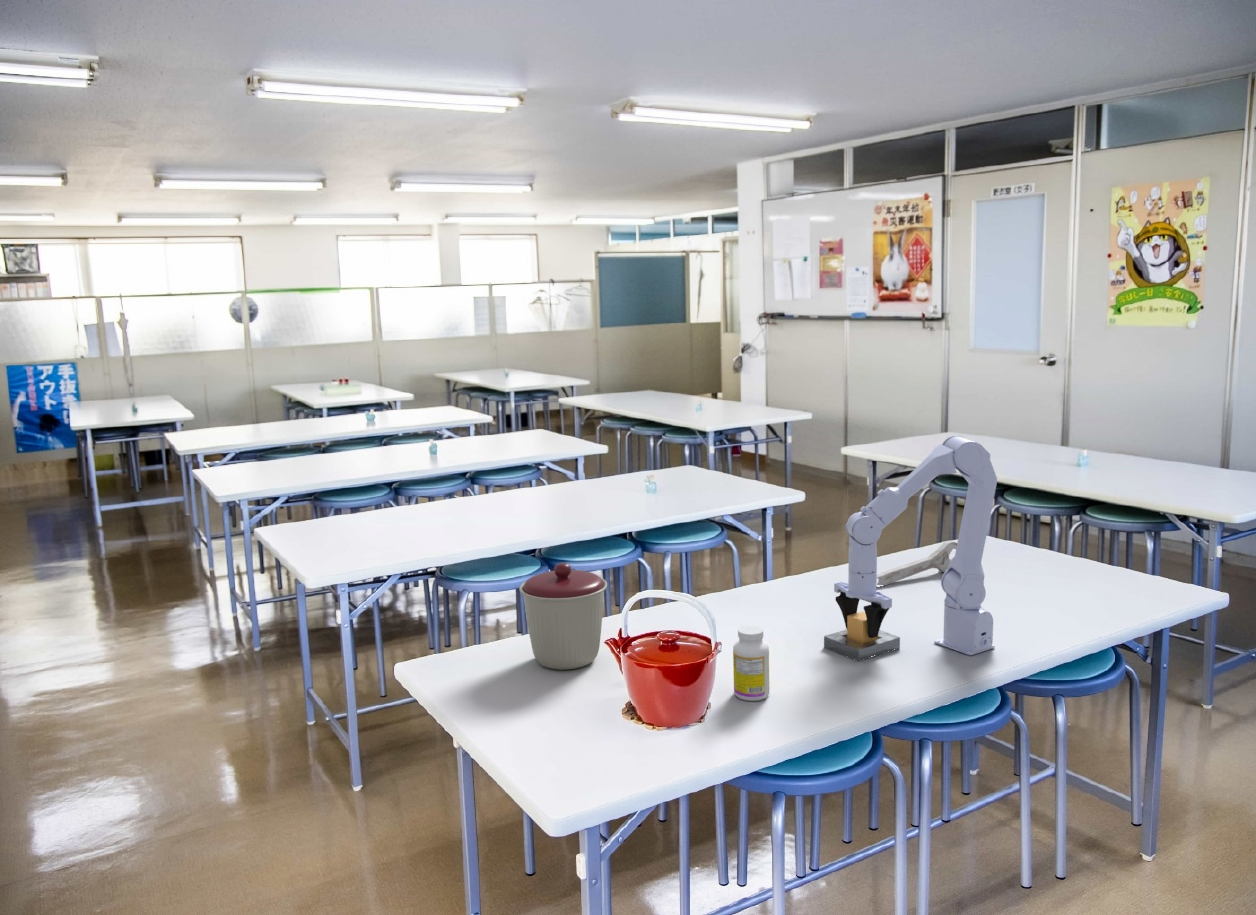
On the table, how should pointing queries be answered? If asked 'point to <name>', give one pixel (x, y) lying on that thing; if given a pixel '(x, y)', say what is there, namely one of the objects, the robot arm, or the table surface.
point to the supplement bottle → (751, 664)
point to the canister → (564, 616)
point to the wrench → (920, 565)
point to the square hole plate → (861, 645)
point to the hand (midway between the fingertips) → (861, 632)
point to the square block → (858, 628)
